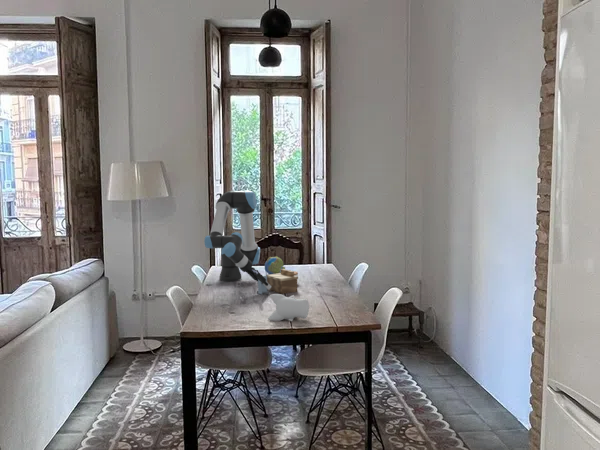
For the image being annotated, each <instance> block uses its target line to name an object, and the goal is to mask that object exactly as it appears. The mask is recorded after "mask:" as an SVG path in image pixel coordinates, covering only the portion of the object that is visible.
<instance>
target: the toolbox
mask: <svg viewBox="0 0 600 450" xmlns="http://www.w3.org/2000/svg"><path fill="white" fill-rule="evenodd" d="M267 282H268V283H269V284H270V285H271V286H272V287H271V288H270V289H269V290H268V289H267V291H270V292H274V293H275V294H282V295H285V294H290V293H291V294H292V293H297V292H298V279H292V280H285V281H279V280H275V279H272V278H268V277H267Z"/></svg>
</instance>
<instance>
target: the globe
mask: <svg viewBox="0 0 600 450" xmlns="http://www.w3.org/2000/svg"><path fill="white" fill-rule="evenodd" d="M281 269H286V266H284V261H283V260H282V258H280V257H278V256H277V255H276V256H269V257H267V260H266V261H265V263H264V270H265V272H266V273H267V275H270V274H278V273H281Z"/></svg>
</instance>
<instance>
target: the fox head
mask: <svg viewBox="0 0 600 450" xmlns="http://www.w3.org/2000/svg"><path fill="white" fill-rule="evenodd" d="M268 295H269V298H270V299H271V300H272V301H273V303H274V305H275V310H274V311H273V312H272V313H271V314H270V315H269V317H268V318H267V320H268V321H273V322H280V321H282V320H286V321H289V322H293V321H294V318H300V319H307V317H308V316H309V313H310V311H309V310H310V305H309V304H310V303H309V300H308V299H307V298H301V299H300V298H299V299H298V298H297V299H296V298H295V295H294V294H292V295H289V296H286V295H285V294H279V293H273V294H268Z"/></svg>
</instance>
